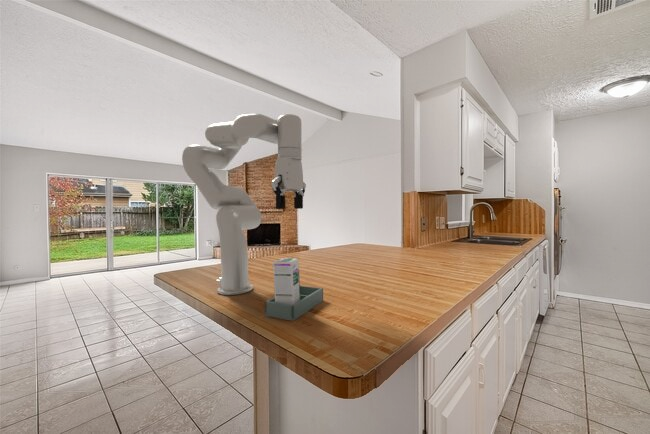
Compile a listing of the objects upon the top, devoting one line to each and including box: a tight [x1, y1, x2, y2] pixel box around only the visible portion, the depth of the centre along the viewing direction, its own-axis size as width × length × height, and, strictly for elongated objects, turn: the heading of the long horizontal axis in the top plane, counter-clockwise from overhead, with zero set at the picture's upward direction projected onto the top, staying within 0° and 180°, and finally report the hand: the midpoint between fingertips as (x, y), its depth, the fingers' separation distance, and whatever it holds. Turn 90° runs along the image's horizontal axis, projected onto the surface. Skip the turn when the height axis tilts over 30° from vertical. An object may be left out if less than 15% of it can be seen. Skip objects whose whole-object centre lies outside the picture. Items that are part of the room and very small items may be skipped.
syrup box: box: [272, 257, 301, 305], centre depth 80 cm, size 6×6×14 cm
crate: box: [264, 285, 324, 322], centre depth 84 cm, size 18×9×4 cm, turn 154°
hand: (289, 208), depth 90 cm, fingers open, 9 cm apart
